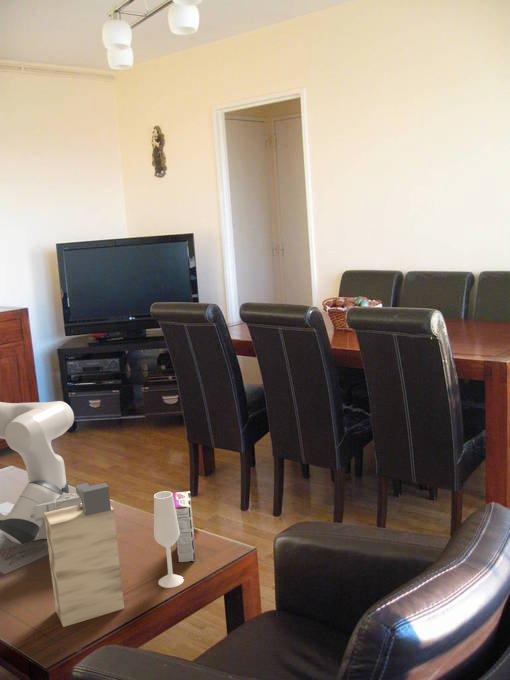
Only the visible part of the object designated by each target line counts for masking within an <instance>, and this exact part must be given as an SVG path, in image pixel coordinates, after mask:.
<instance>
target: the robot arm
mask: <svg viewBox="0 0 510 680" xmlns="http://www.w3.org/2000/svg"><path fill="white" fill-rule="evenodd" d="M74 421H75V414H74V411H73V409H72V407H71V406H70V405H69V404H68V403H66V402H65V401H62V400H57V401H47V402H46V401H45V402H41V401H40V402H37V401H36V402H35V401H33V402H19V403H18V402H14V403H12V402H5V401H4V402H3V401H0V439H1V440H2V439H4V440H5V442H6V443H7V446H8V447H9V448H10V449H11V450H13V451H14V452H17V453H18V454H19V455H20V457H21V459H22V460H23V462H24V466H25V468H26V473H27V474H26V475H27V480H28V482H27V484H26V485H25V487H24V488H23V490H22V491H21V494H20V495H19V497H18V498H17V500H16V501H15V504H14V505H13V507H12V509H11V510H10V511H9V512H8V513H7V514H6V515H4V514H2V513H1V512H0V532H2V534H3V535H4V536H5V537H7V539H8V540H9V541H11V542H13V543H14V544H18V545H26V544H28V543H31V542H34V541H38V540H47V534H46V526H45V518H44V513H45V512H50V511H54V510H58V509H62V508H67V507H71V506H75V505H79V503H81V502H82V500H81V498H80V497H79V496H78V494H77V493H70V486H69V484H68V483H69V482H67V476H66V469H65V468H66V466H65V461H64V458H63V457H62V456H61V455H60V454H57V453H55V452H54V449H53V447H52V440H55V439H56V438H59V437H60V436H61V437H62V436H63V435H64V434H65V433H66V432H67V431H68V430H69V429H70V428H71V427H72V426H73V424H74Z"/></svg>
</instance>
